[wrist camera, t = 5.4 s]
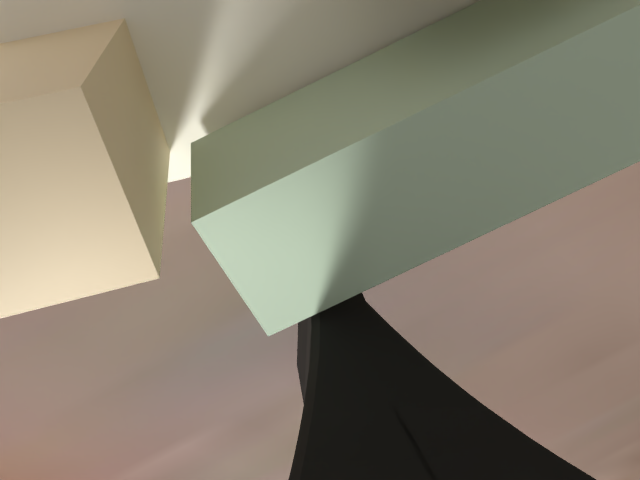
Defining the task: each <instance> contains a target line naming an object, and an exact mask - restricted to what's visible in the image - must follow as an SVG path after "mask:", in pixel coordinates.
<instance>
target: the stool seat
mask: <svg viewBox="0 0 640 480" xmlns="http://www.w3.org/2000/svg"><path fill="white" fill-rule="evenodd" d="M478 1H480V0H0V318H4V317H8V316H12V315H16V314H20V313H23V312H27V311H31V310H35V309H39V308H43V307H47V306H51V305H55V304H59V303H63V302H67V301H71V300H75V299H79V298H83V297H87V296H91V295H95V294H99V293H103V292H107V291H111V290H115V289H119V288H123V287H127V286H131V285H135V284H139V283H143V282H147V281H151V280H155V279H159V278H160V266H161V254H162V242H163V230H164V218H165V206H166V195H167V183H168V182H172V181H176V180H180V179H184V178H189V177H191V143H192V142H194V141H196V140H198V139H200V138H202V137H204V136H206V135H208V134H210V133H212V132H214V131H216V130H218V129H220V128H222V127H224V126H226V125H228V124H230V123H232V122H234V121H237V120H239V119H241V118H243V117H245V116H247V115H249V114H251V113H253V112H255V111H257V110H259V109H261V108H263V107H265V106H267V105H269V104H271V103H273V102H275V101H277V100H279V99H281V98H283V97H285V96H287V95H289V94H291V93H293V92H295V91H297V90H299V89H302V88H304V87H306V86H308V85H310V84H312V83H314V82H316V81H318V80H320V79H322V78H324V77H326V76H328V75H330V74H332V73H334V72H336V71H338V70H340V69H342V68H344V67H346V66H348V65H350V64H352V63H354V62H356V61H358V60H360V59H362V58H364V57H366V56H369V55H371V54H373V53H375V52H377V51H379V50H381V49H383V48H385V47H387V46H389V45H391V44H393V43H395V42H397V41H399V40H401V39H403V38H405V37H407V36H409V35H411V34H413V33H415V32H417V31H419V30H421V29H423V28H425V27H427V26H429V25H431V24H434V23H436V22H438V21H440V20H442V19H444V18H446V17H448V16H450V15H452V14H454V13H456V12H458V11H460V10H462V9H464V8H466V7H468V6H470V5H472V4H474V3H476V2H478Z"/></svg>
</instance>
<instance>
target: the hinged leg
mask: <svg viewBox="0 0 640 480" xmlns="http://www.w3.org/2000/svg"><path fill="white" fill-rule="evenodd" d="M639 161H640V0H480V1H478V2H476V3H474V4H472V5H470V6H468V7H466V8H464V9H462V10H460V11H458V12H456V13H454V14H452V15H450V16H448V17H446V18H444V19H442V20H440V21H438V22H436V23H434V24H431V25H429V26H427V27H425V28H423V29H421V30H419V31H417V32H415V33H413V34H411V35H409V36H407V37H405V38H403V39H401V40H399V41H397V42H395V43H393V44H391V45H389V46H387V47H385V48H383V49H381V50H379V51H377V52H375V53H373V54H371V55H369V56H366V57H364V58H362V59H360V60H358V61H356V62H354V63H352V64H350V65H348V66H346V67H344V68H342V69H340V70H338V71H336V72H334V73H332V74H330V75H328V76H326V77H324V78H322V79H320V80H318V81H316V82H314V83H312V84H310V85H308V86H306V87H304V88H302V89H299V90H297V91H295V92H293V93H291V94H289V95H287V96H285V97H283V98H281V99H279V100H277V101H275V102H273V103H271V104H269V105H267V106H265V107H263V108H261V109H259V110H257V111H255V112H253V113H251V114H249V115H247V116H245V117H243V118H241V119H239V120H237V121H234V122H232V123H230V124H228V125H226V126H224V127H222V128H220V129H218V130H216V131H214V132H212V133H210V134H208V135H206V136H204V137H202V138H200V139H198V140H196V141H194V142H192V143H191V223H192V225H193V226H194V228H195V229H196V230H197V232H198V233H199V235H200V236H201V238H202V239H203V241H204V242H205V244H206V245H207V247H208V248H209V250H210V251H211V253H212V254H213V256H214V257H215V259H216V260H217V261H218V263H219V264H220V266H221V267H222V269H223V270H224V272H225V273H226V275H227V276H228V278H229V279H230V281H231V282H232V284H233V285H234V287H235V288H236V290H237V291H238V292H239V294H240V295H241V297H242V298H243V300H244V301H245V303H246V304H247V306H248V307H249V309H250V310H251V312H252V313H253V315H254V316H255V318H256V319H257V321H258V322H259V323H260V325H261V326H262V328H263V329H264V331H265V332H266V334H267V335H268V336H271V335H273V334H275V333H277V332H279V331H281V330H283V329H285V328H287V327H290V326H292V325H294V324H296V323H298V322H300V321H302V320H304V319H307V318H309V317H311V316H313V315H315V314H317V313H319V312H321V311H323V310H326V309H328V308H330V307H332V306H334V305H336V304H338V303H340V302H343V301H345V300H347V299H349V298H351V297H353V296H355V295H357V294H359V293H362V292H364V291H366V290H368V289H370V288H372V287H374V286H376V285H379V284H381V283H383V282H385V281H387V280H389V279H391V278H393V277H395V276H398V275H400V274H402V273H404V272H406V271H408V270H410V269H412V268H415V267H417V266H419V265H421V264H423V263H425V262H427V261H429V260H431V259H434V258H436V257H438V256H440V255H442V254H444V253H446V252H448V251H451V250H453V249H455V248H457V247H459V246H461V245H463V244H465V243H467V242H470V241H472V240H474V239H476V238H478V237H480V236H482V235H484V234H487V233H489V232H491V231H493V230H495V229H497V228H499V227H501V226H503V225H506V224H508V223H510V222H512V221H514V220H516V219H518V218H520V217H523V216H525V215H527V214H529V213H531V212H533V211H535V210H537V209H539V208H542V207H544V206H546V205H548V204H550V203H552V202H554V201H556V200H559V199H561V198H563V197H565V196H567V195H569V194H571V193H573V192H575V191H578V190H580V189H582V188H584V187H586V186H588V185H590V184H592V183H595V182H597V181H599V180H601V179H603V178H605V177H607V176H609V175H611V174H614V173H616V172H618V171H620V170H622V169H624V168H626V167H628V166H631V165H633V164H635V163H637V162H639Z"/></svg>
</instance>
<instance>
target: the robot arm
mask: <svg viewBox="0 0 640 480" xmlns="http://www.w3.org/2000/svg"><path fill="white" fill-rule="evenodd" d="M297 367H298V373H299V379H300V385H301V391H302V396H303V402H304V408H303V414H302V420H301V425H300V430H299V436H298V441H297V445H296V450H295V455H294V459H293V464H292V468H291V472H290V476H289V480H596V479H594V478H593V477H591V476H589V475H588V474H586V473H585V472H583V471H581V470H580V469H578V468H576V467H575V466H573V465H571V464H570V463H568V462H567V461H565V460H563V459H562V458H560V457H558V456H557V455H555V454H554V453H552V452H551V451H549V450H548V449H546V448H545V447H543V446H542V445H540V444H538V443H537V442H535V441H534V440H532V439H531V438H529V437H528V436H526V435H525V434H524V433H522V432H521V431H519V430H518V429H517V428H515V427H514V426H512V425H511V424H510V423H508V422H507V421H505V420H504V419H502V418H501V417H500V416H498V415H497V414H495V413H494V412H493V411H491V410H490V409H488V408H487V407H486V406H484V405H483V404H482V403H480V402H479V401H478V400H476V399H475V398H474V397H472V396H471V395H470V394H468V393H467V392H466V391H465V390H463V389H462V388H461V387H460V386H458V385H457V384H456V383H455V382H454V381H452V380H451V379H450V378H449V377H447V376H446V375H445V374H444V373H443V372H441V371H440V370H439V369H438V368H436V367H435V366H434V365H433V364H432V363H431V362H430V361H428V360H427V359H426V358H425V357H424V356H423V355H422V354H420V353H419V352H418V351H417V350H416V349H415V348H414V347H413V346H412V345H411V344H410V343H409V342H407V341H406V340H405V339H404V338H403V337H402V336H401V335H400V334H399V333H398V332H397V331H396V330H394V329H393V328H392V327H391V326H390V325H389V324H388V323H387V322H386V321H385V320H384V319H383V318H382V317H381V316H380V315H379V314H378V313H377V312H376V311H375V310H374V309H373V308H372V307H371V306H370V305H369V304H368V303H367V302H366V301H365V298H364V296H363V294H362V293H359V294H357V295H355V296H353V297H351V298H349V299H347V300H345V301H343V302H340V303H338V304H336V305H334V306H332V307H330V308H328V309H326V310H323V311H321V312H319V313H317V314H315V315H313V316H311V317H309V318H307V319H304V320H302V321H300V322H298V349H297Z"/></svg>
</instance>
